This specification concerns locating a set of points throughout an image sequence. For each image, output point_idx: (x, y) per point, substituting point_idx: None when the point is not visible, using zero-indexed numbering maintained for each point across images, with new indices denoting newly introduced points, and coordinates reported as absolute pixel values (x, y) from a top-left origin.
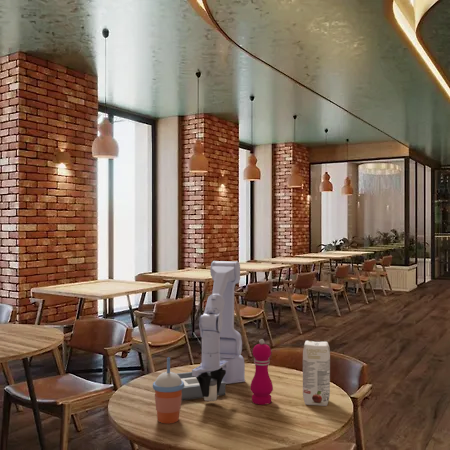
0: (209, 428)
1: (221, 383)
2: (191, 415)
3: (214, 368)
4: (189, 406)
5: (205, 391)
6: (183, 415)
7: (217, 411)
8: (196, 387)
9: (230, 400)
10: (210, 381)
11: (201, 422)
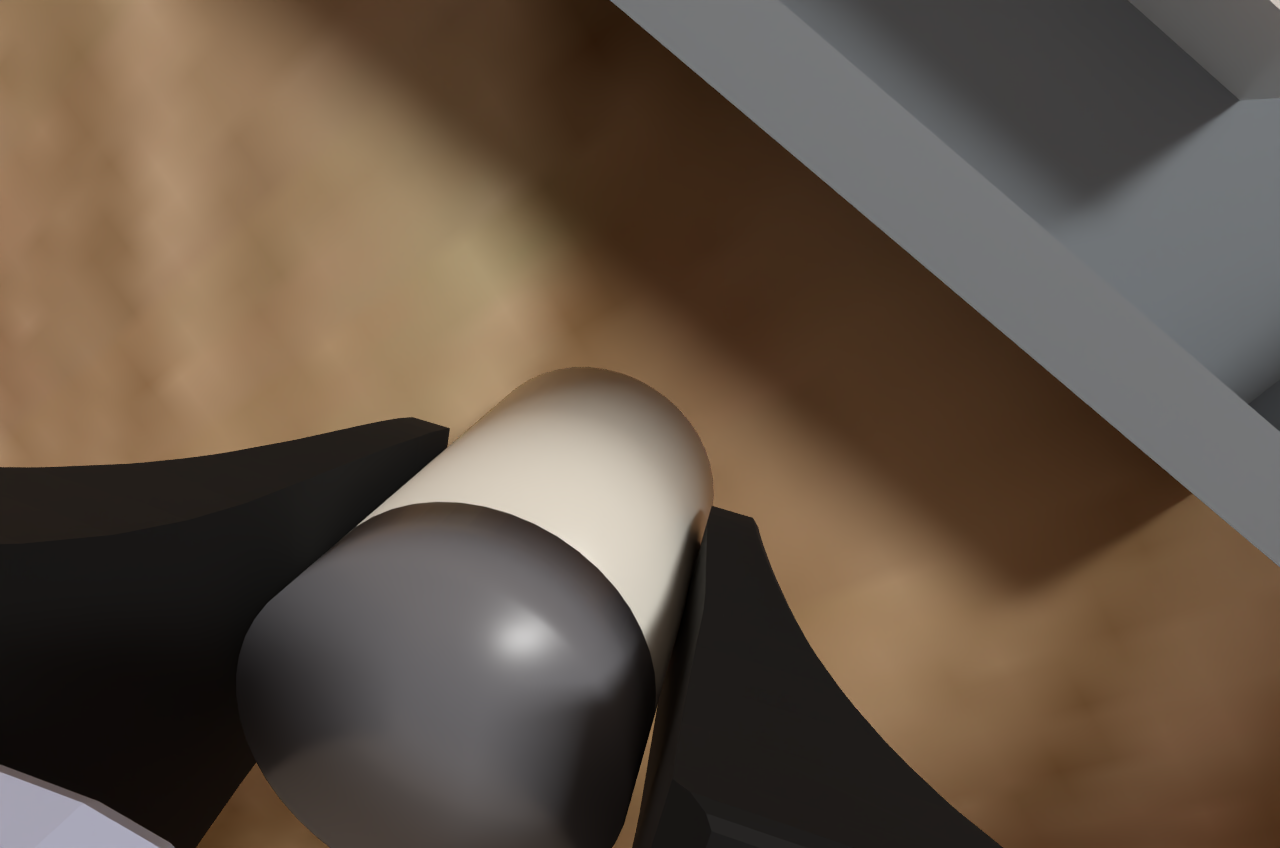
0: None
1: (1273, 558)
2: (93, 428)
3: None
4: (307, 200)
5: None
6: (18, 331)
7: None
8: (661, 41)
9: (923, 671)
10: (316, 787)
11: None
